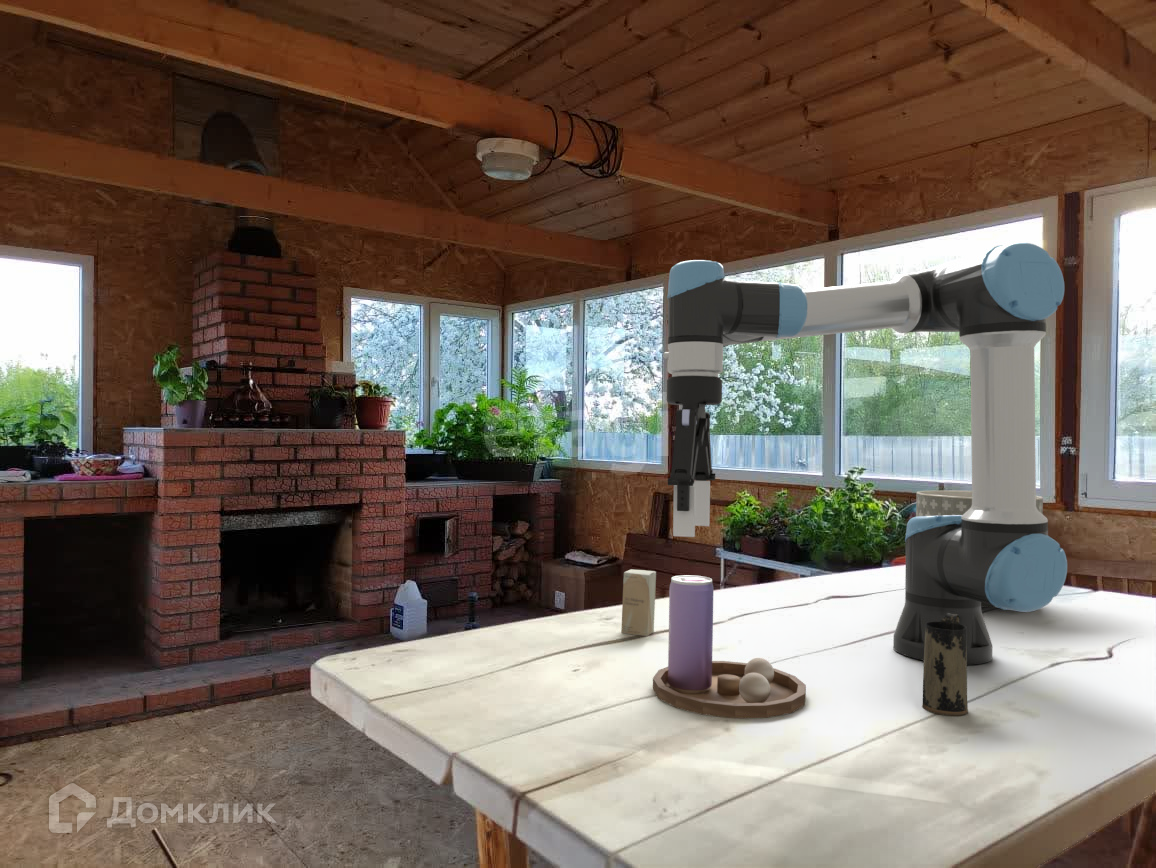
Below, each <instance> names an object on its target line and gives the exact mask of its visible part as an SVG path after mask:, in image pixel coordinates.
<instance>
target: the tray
mask: <svg viewBox="0 0 1156 868" xmlns="http://www.w3.org/2000/svg"><path fill="white" fill-rule="evenodd" d="M747 663H748V662H738V661H731V660H728V661H727V660H712V685H711V687H710V689H709V690H708V691H707V692H705V693H700V694H686V693H680V692H677V691H674V690H673V689H672V688H671V687H670V685H669V683H668V666H666V667H663V668H661V669H658V671H657V672H656V673H655V675H654V676H653V677H652V691H653V692H654V694H655V695H656V697H657V699H658V700H661V701H663V702H665V704H668V705H671V706H672V707H675V708H677V709H680V710H684V711H687V712H691V713H694V714H699V715H705V716H710V717H719V718H729V719H763V718H766V719H767V718H772V717H779V716H783V715H788V714H793V713H794V712H796V711H798V710H799V709H801V708H802V707H804V706H805V705H806V693H807V691H806V690H807V689H806V688H807V687H806V686H807V684H805V683H804V682H803V681H802V680H801V679H799V678H798V677H797V676H795V675H793V674H790V673H788V672H786V671H783V670H779V669H778V668H774V667H773V669H774V678H773V681H772V682H771V684H770V695H769V697H768V699H767V700H766V701H765V702H764V703H747V702H746V701H745V700H744V699H743V698H742V697H741V695H740V692H739V683H740V681H741V679H742V678H743V677H744V676H745V667H746V665H747Z"/></svg>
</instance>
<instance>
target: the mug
mask: <svg viewBox="0 0 1156 868" xmlns="http://www.w3.org/2000/svg"><path fill="white" fill-rule="evenodd" d="M967 669H968V665H967V627H966V626H963V625H960V623H959V616H958V614H950V613H947V614H946V616H945V617H944V618H943V619H942V620H940V622H928V623H926V630H925V647H924V660H923V673H922V674H923V675H922V706H921V707H922V708H923V709H924V710H925V711H927V712H930V713H933V714H935V715H941V716H946V717H963V716H966V715H968V714H969V709H968V708H969V706H968V704H969V703H968V670H967Z"/></svg>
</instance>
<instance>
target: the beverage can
mask: <svg viewBox="0 0 1156 868" xmlns="http://www.w3.org/2000/svg"><path fill="white" fill-rule="evenodd" d="M670 579H671V582H670V584H669V597H668V599H669V601H668V603H669V605H668V607H669V608H668V609H669V610H668V611H669V612H668V651H667V652H668V655H667V657H668V658H667V659H668V663H667V667H668V683H669V685H670V687H671V688H672V689H673V690H674V691H677V692H680V693H686V694H700V693H705V692H707V691H708V690H709V689H710V687H711V685H712V661H713V639H714V638H713V637H714V635H713V634H714V633H713V632H714V585H713V579H712V578H710V577H707V576H701V575H689V574H688V575H687V574H686V575H685V574H684V575H675V576H672V577H671V578H670Z"/></svg>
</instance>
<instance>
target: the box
mask: <svg viewBox="0 0 1156 868" xmlns="http://www.w3.org/2000/svg"><path fill="white" fill-rule="evenodd" d="M656 580H657V571H655V570H645V569H632V568H631V569H629V570H626V571H624V572H623V580H622V581H623V582H622V585H623V586H622V604H621V605H622V610H621V628H620V630H621V634H628V635H634V636H643V637H648V636H650V635H651V634H652V633H654V632H655V605H656V584H657V583H656V582H657V581H656Z"/></svg>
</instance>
